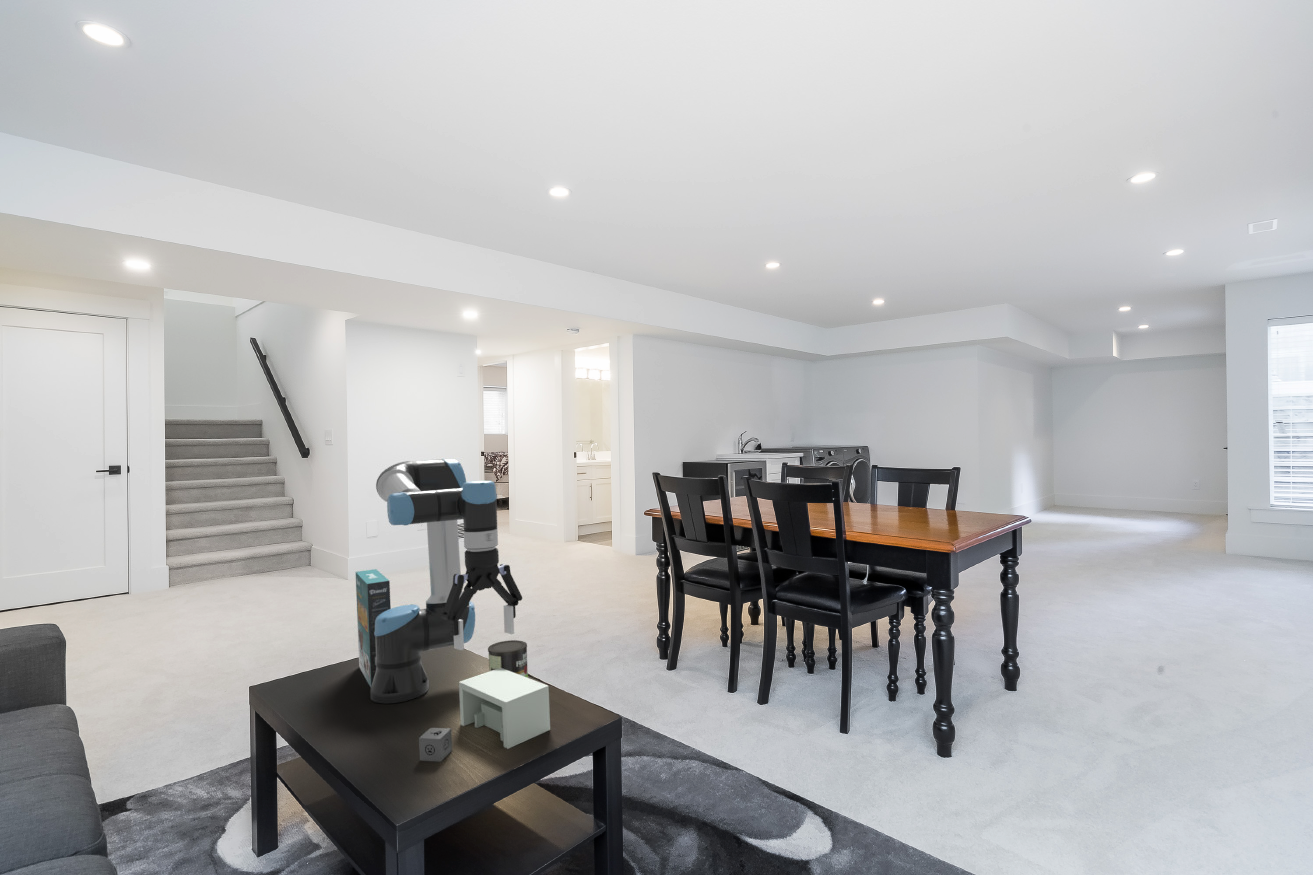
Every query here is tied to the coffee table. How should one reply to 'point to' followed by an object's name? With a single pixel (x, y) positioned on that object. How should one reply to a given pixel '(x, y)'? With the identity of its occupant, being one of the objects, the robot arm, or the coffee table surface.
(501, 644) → the coffee can
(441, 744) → the dice cube
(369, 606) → the cake mix box
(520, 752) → the coffee table surface
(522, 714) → the shelf
